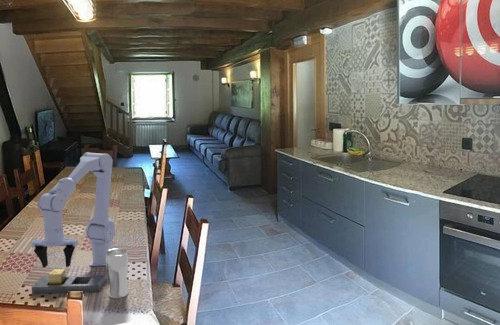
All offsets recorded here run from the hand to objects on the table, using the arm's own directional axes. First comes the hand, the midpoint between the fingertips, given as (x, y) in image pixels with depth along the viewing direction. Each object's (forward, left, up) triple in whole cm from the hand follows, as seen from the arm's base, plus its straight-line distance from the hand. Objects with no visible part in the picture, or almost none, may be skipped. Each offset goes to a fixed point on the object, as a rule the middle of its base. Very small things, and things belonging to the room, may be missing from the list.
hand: (56, 266), depth 137 cm
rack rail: (0, +4, -8) cm, 9 cm away
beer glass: (+6, +22, -8) cm, 24 cm away
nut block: (0, 0, -8) cm, 8 cm away
